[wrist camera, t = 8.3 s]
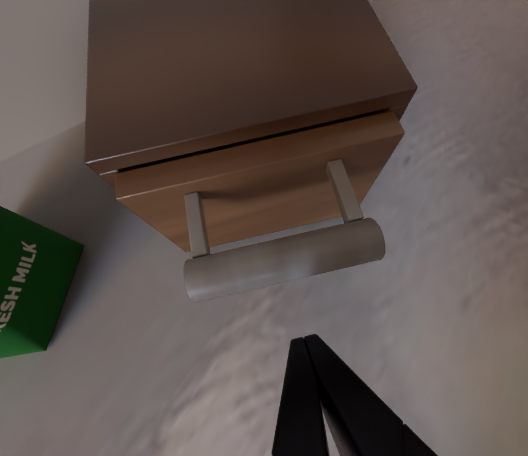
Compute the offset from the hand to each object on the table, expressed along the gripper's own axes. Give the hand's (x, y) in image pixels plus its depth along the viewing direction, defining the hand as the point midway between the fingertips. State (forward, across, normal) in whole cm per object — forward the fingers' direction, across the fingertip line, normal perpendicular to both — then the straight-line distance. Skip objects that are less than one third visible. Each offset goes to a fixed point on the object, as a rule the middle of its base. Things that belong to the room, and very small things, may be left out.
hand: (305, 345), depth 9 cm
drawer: (+13, 0, -3) cm, 13 cm away
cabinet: (+16, 0, -5) cm, 17 cm away
